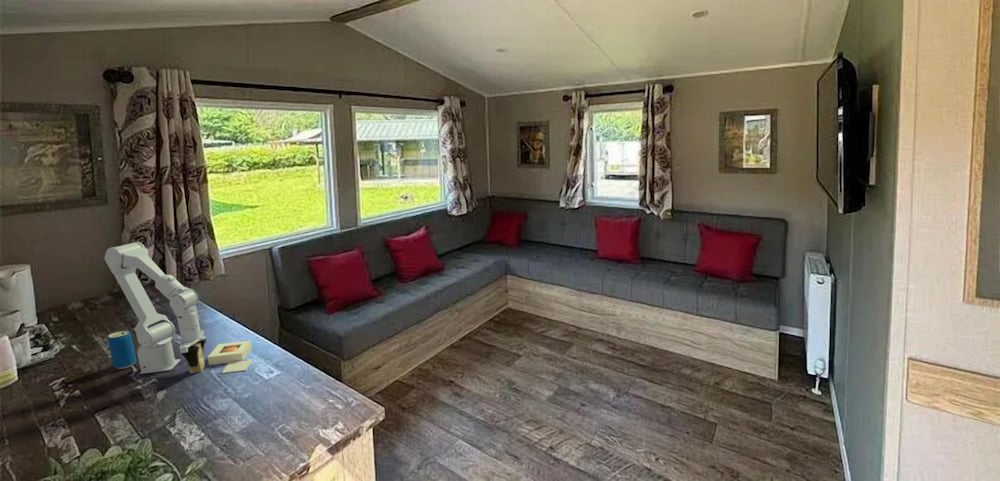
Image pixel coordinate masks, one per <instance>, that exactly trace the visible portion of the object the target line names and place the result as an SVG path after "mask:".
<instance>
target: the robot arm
mask: <svg viewBox="0 0 1000 481" xmlns="http://www.w3.org/2000/svg"><path fill="white" fill-rule="evenodd" d="M104 254H105V255H104V259H103V260H105V263H106V265H107V266H108V268H109V270H110V272H111V273H112V274H113V276H114V278H115V279H116V281H117V283H118V285H119V286H120V288H121V290H122V291H123V294H124V295H125V298H126V300H127V301H128V303H129V304H130V307H131V308H132V309H133V312H134V313H135V314H134V315H135V316H136V318H137V319H138V322H137V325H136V326H135V327H134V332H135V333H136V334H135V335H136V338H137V341H138V343H139V345H140V346H139V347H138V350H137V358H138V364H139V368H140V372H139V374H142V375H143V374H149V373H151V374H152V373H159V372H160V373H161V372H167V371H172V370H173V369H174V368H175V366H176V365H178V363H179V362H180V361H181V359H179V358H178V359H177V358H175V354H174V348H173V344H172V340H173V339H174V338H173V336H174V335H175V333H176V328H175V325H174V324H173V322H172V321H171V320H169V319H168V318H169V317H167V315H164V314H161V313H158V312H157V311H156V308H155V307H154V305H153V303H152V301H151V299H150V296H148V294H147V292H146V290H145V288H144V287H143V285H142V283H141V281H140V279H139V278H138V275H137V274H136V271H137V269H139V270H140V271H141V272H143V274H145V275H146V276H148V277H149V278H150V279H152V280H153V281H154V282H155V285H154V286H155V288H156V289H157V290H158V291H159V292H161V294H162V295H163V296H164V297H165V298H166V299H168V300H169V306H170V308H171V309H172V310H173V314H174V316H176V318H177V324H178V330H179V334H180V338H181V339H180V346H179V349H178V351H179V353H180V354H181V355H182V356H183V358H184V359H185V360H186V362H187V365H188V364H189V365H190V367H196V366H198V351H199V347H194V346H193V344H195V343H201V347H202V352H203V353H204V348H205V344H206V341H207V339H206V335H205V333H204V329H201V326H200V321H199V315H198V310H197V304H199V301H200V297H199V294H198V293H197V291H196V290H195V289H193V288H188V287H187V286H184V285H183V284H181V282H179V281H178V279H176V278H175V276H173V275H171V274H165V272H163V270H162V269H161V268H160V267H159V266H158V265H157V264H156V263H155V262H154V260H152V258H151V257H150V256H149V250H148V248H146V246H145V245H144V244H143V243H142V242H140V241H134V242H131V243H126V244H123V245H119V246H118V245H117V246H115V247H114V246H112V247H108V249H106V252H105V253H104Z"/></svg>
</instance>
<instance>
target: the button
mask: <svg viewBox="0 0 1000 481" xmlns="http://www.w3.org/2000/svg"><path fill="white" fill-rule="evenodd" d="M237 350H238V347H228V348H226V349H224V350H223V351H222V353H224V352H233V351H237Z"/></svg>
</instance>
